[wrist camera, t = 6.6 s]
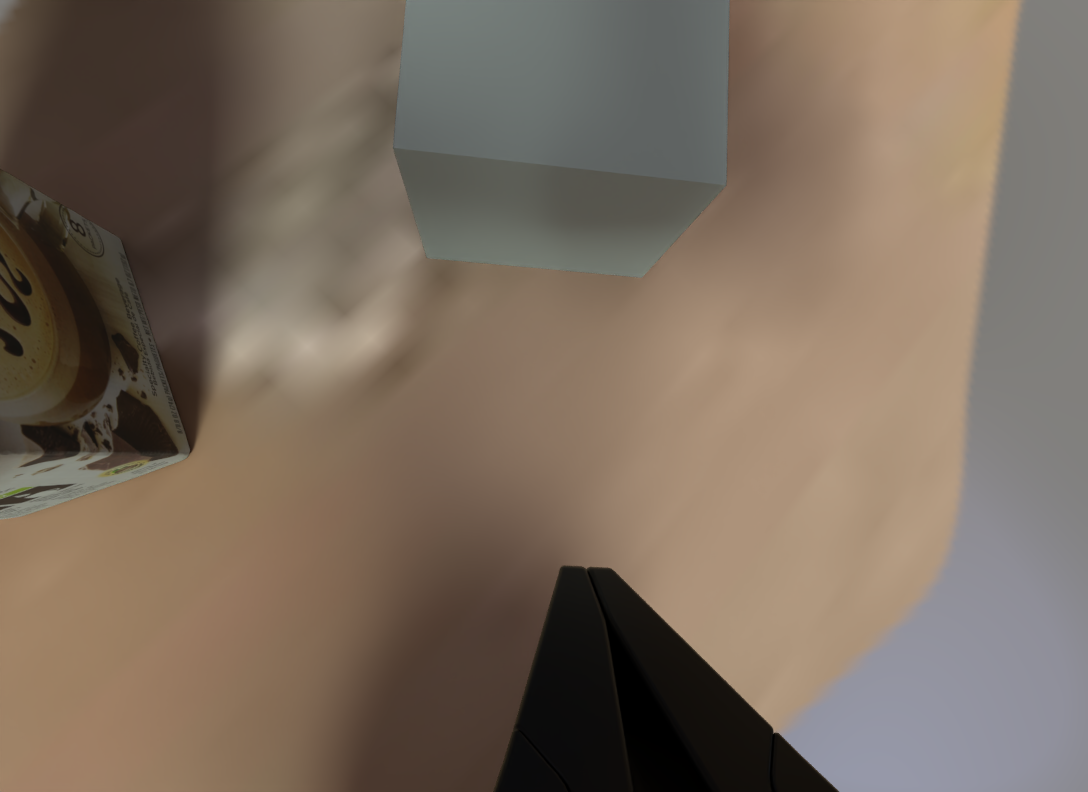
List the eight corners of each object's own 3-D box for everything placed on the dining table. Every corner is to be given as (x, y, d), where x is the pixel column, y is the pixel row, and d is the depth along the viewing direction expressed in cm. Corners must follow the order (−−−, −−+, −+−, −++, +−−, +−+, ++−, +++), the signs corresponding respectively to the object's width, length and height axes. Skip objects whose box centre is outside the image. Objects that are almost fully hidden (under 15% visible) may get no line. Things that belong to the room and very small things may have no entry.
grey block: (640, 278, 22) (726, 185, 14) (427, 259, 21) (393, 147, 13) (650, 2, 24) (733, -223, 16) (450, -28, 23) (431, -283, 15)
